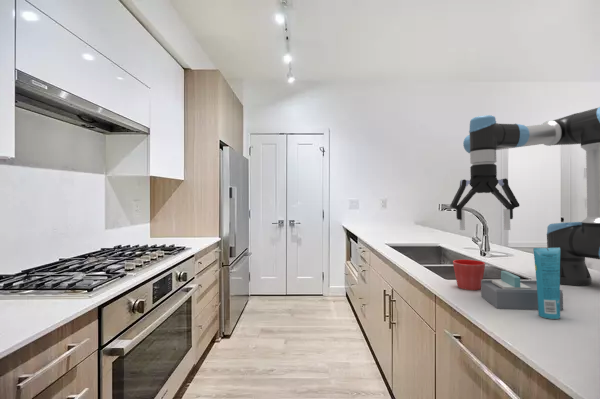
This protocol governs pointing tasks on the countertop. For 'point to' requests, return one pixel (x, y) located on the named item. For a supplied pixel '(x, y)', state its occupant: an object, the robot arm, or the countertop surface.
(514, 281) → the panel
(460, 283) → the flower pot
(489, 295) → the socket
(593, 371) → the countertop surface
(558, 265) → the tube
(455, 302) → the countertop surface
